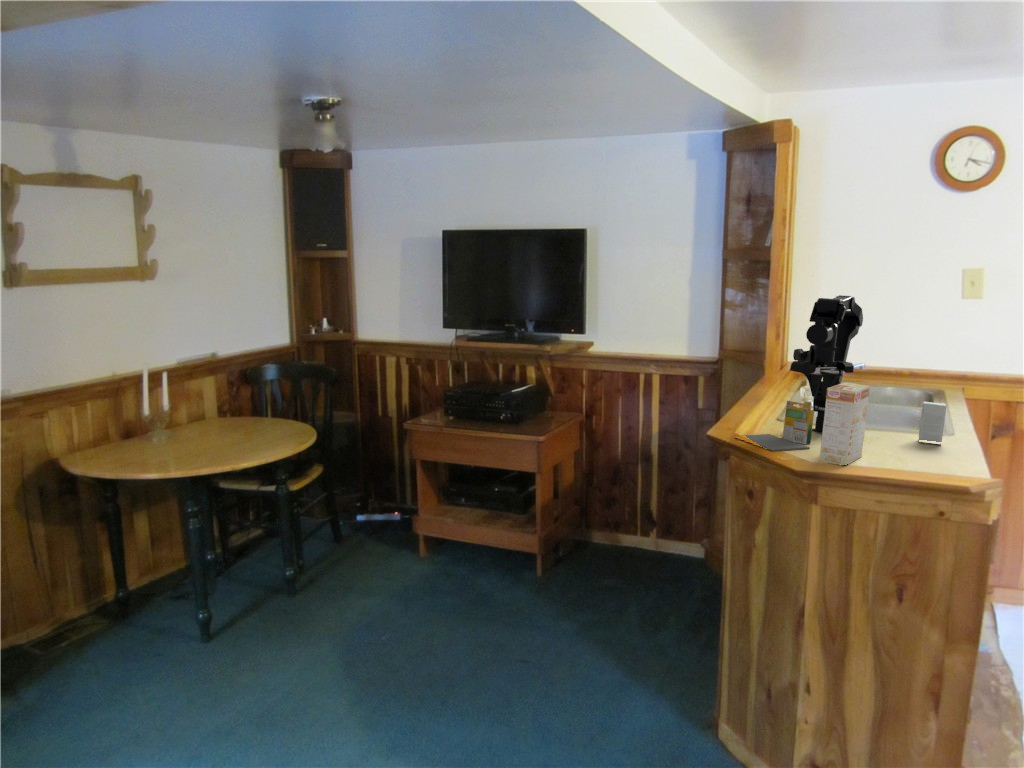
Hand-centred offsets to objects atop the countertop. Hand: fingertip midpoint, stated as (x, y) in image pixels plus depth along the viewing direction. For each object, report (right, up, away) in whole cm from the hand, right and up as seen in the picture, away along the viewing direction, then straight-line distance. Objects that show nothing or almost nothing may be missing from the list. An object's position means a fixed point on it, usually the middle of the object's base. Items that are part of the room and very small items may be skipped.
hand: (818, 396), depth 222 cm
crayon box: (-7, -13, -1) cm, 15 cm away
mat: (-15, -13, -4) cm, 21 cm away
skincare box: (+35, -14, +7) cm, 39 cm away
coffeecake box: (-2, -16, -18) cm, 25 cm away
